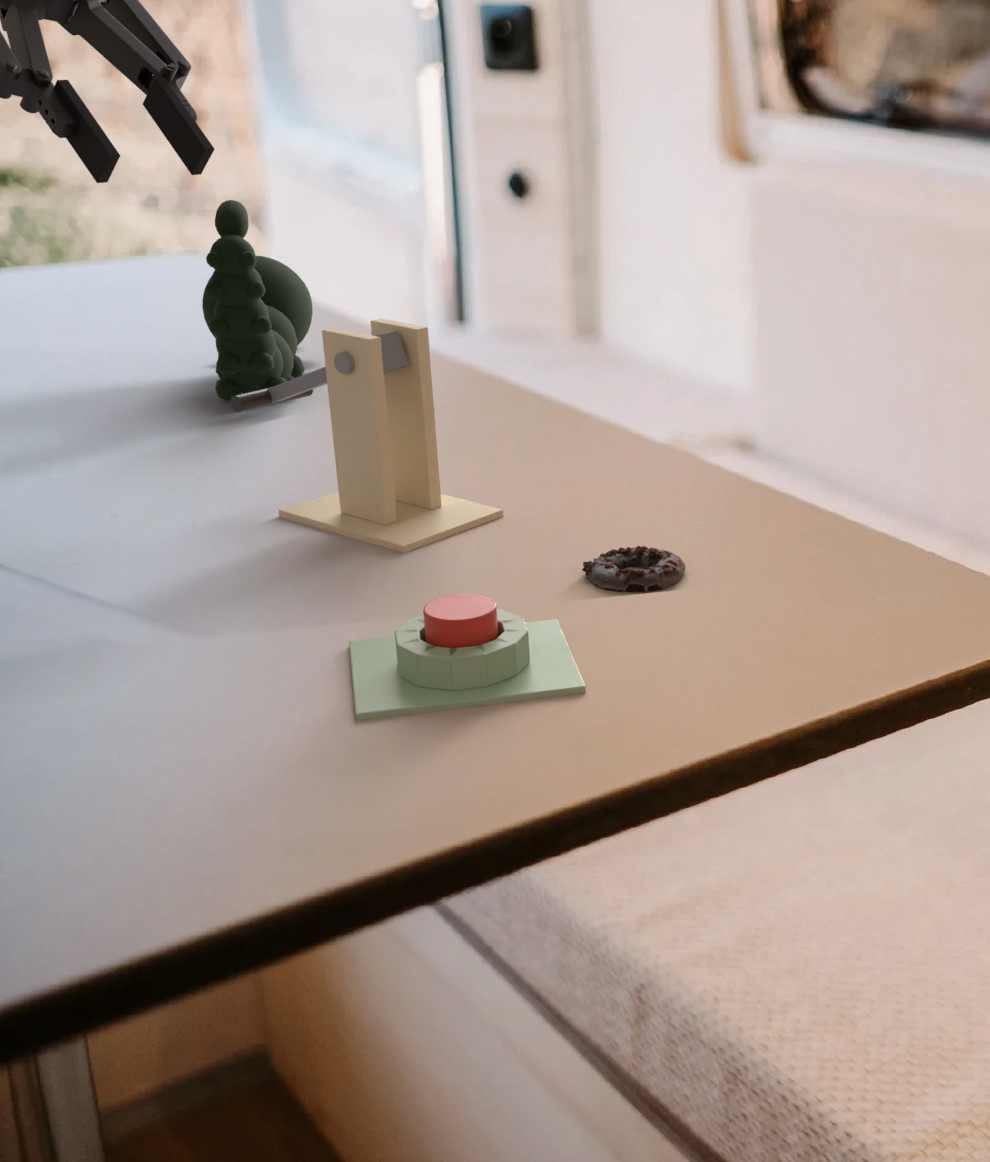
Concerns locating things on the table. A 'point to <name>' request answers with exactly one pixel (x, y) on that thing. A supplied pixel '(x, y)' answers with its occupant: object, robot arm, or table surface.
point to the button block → (461, 669)
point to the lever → (317, 378)
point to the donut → (658, 576)
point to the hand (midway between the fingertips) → (157, 165)
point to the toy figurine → (252, 310)
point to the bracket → (385, 447)
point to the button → (460, 621)
